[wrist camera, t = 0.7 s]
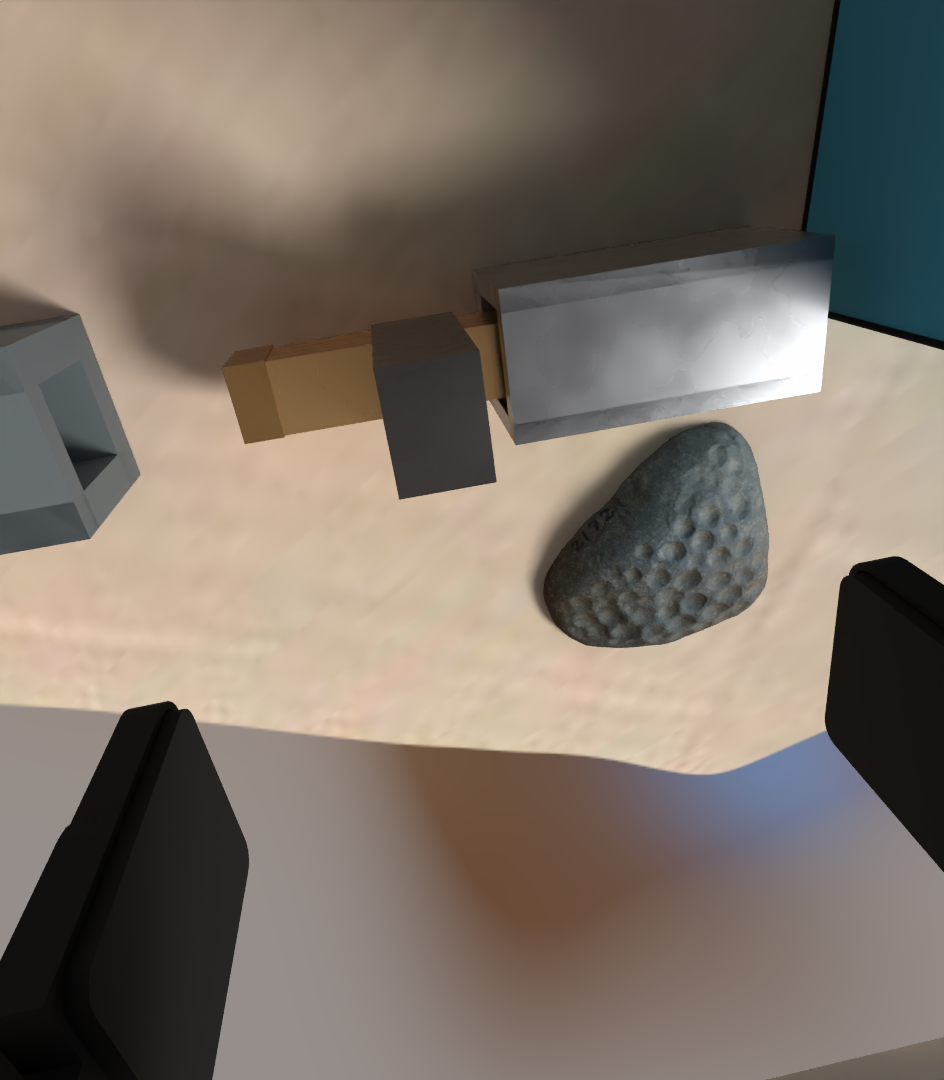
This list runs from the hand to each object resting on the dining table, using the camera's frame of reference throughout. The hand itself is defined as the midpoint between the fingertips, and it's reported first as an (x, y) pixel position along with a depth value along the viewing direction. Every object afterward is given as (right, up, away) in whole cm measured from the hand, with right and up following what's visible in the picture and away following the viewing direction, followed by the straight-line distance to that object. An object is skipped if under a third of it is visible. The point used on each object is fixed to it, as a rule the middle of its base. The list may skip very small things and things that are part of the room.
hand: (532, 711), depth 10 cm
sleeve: (+5, +12, +21) cm, 25 cm away
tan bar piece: (+1, +11, +19) cm, 22 cm away
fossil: (+9, +3, +27) cm, 29 cm away
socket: (-19, +8, +19) cm, 28 cm away
